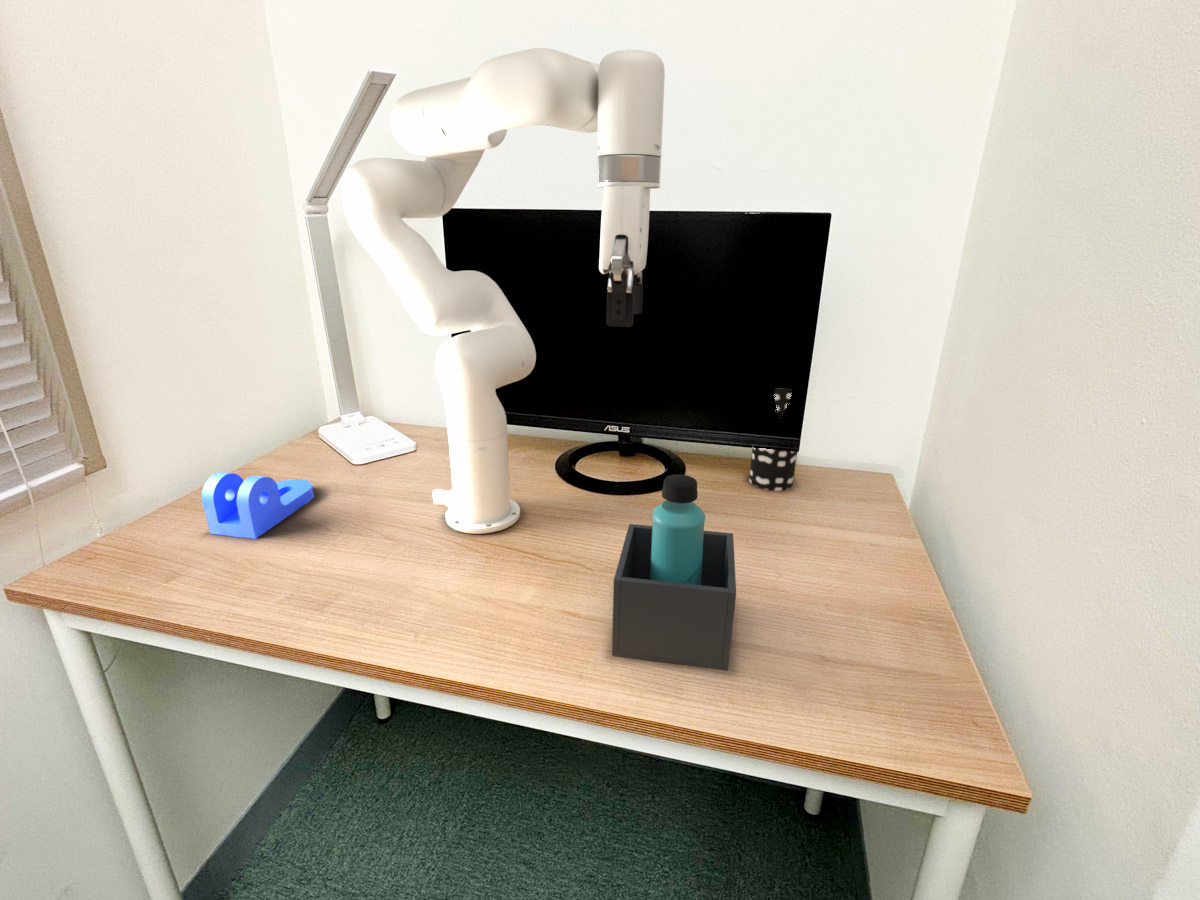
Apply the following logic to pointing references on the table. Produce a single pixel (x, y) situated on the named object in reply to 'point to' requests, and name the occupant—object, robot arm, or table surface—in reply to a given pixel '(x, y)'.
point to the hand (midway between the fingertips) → (625, 319)
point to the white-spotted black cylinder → (774, 457)
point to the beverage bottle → (678, 533)
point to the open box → (674, 605)
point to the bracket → (251, 503)
